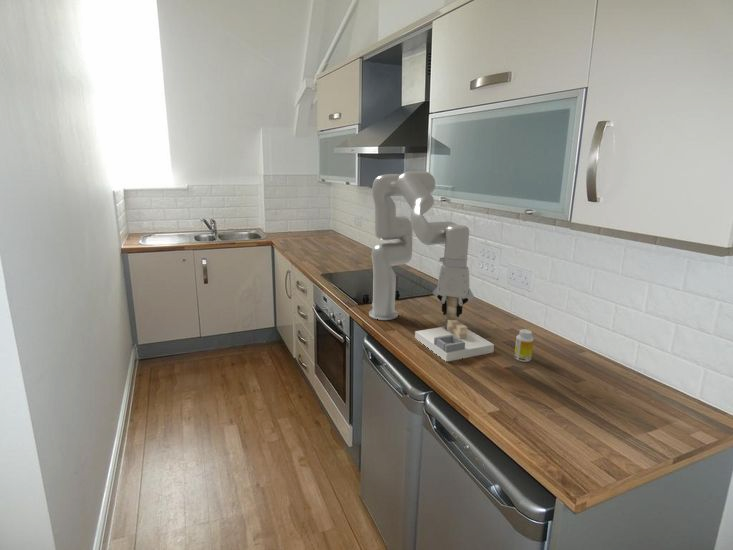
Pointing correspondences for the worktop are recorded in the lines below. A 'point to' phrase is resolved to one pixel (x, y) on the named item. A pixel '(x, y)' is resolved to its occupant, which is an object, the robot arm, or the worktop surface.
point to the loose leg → (451, 308)
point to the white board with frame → (453, 343)
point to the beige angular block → (456, 328)
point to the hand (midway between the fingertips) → (451, 314)
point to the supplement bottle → (524, 345)
